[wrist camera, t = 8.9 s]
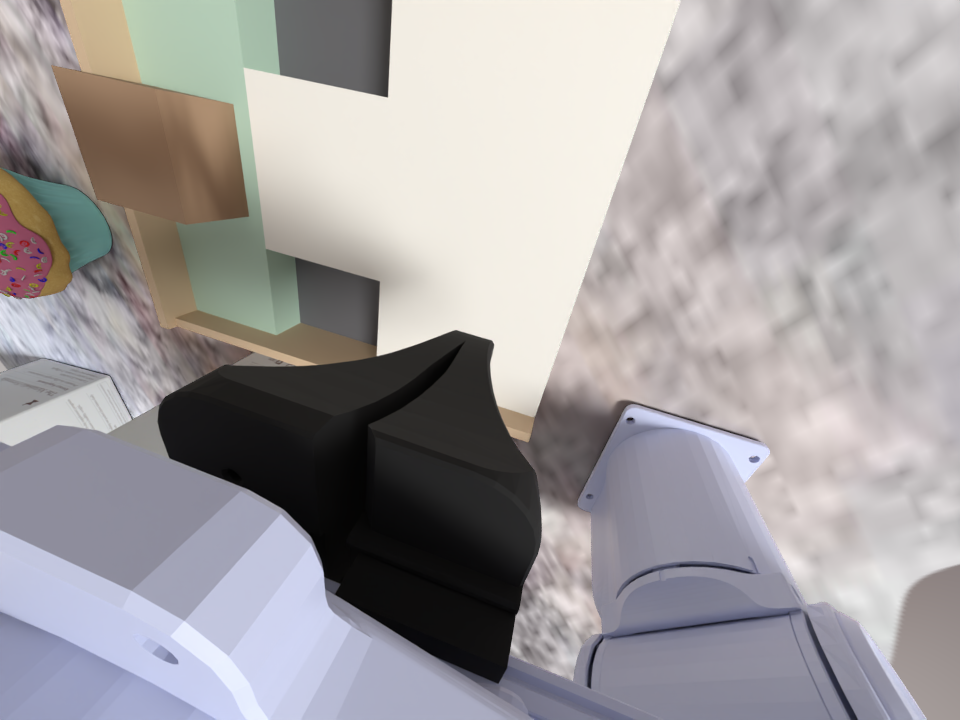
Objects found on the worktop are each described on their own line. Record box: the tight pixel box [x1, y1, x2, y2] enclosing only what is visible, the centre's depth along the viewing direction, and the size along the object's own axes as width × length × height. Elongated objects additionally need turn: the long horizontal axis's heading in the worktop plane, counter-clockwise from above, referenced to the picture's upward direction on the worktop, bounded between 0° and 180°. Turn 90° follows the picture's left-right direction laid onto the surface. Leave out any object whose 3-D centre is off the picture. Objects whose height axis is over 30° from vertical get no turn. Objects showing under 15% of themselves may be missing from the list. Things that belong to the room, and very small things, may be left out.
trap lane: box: [60, 0, 681, 442], centre depth 17 cm, size 20×24×4 cm
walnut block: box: [51, 65, 249, 225], centre depth 16 cm, size 5×5×4 cm
